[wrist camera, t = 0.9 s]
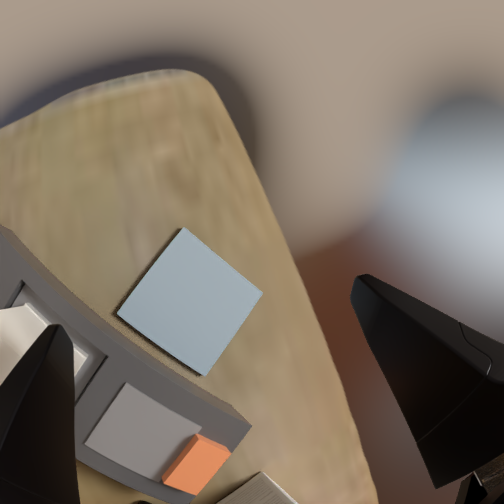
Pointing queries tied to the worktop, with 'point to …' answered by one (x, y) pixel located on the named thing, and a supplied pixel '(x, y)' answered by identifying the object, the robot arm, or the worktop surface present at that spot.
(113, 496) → the worktop surface
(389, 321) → the robot arm
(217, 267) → the mat
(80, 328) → the gray recessed block
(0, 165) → the worktop surface
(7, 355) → the block
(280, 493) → the skincare box
